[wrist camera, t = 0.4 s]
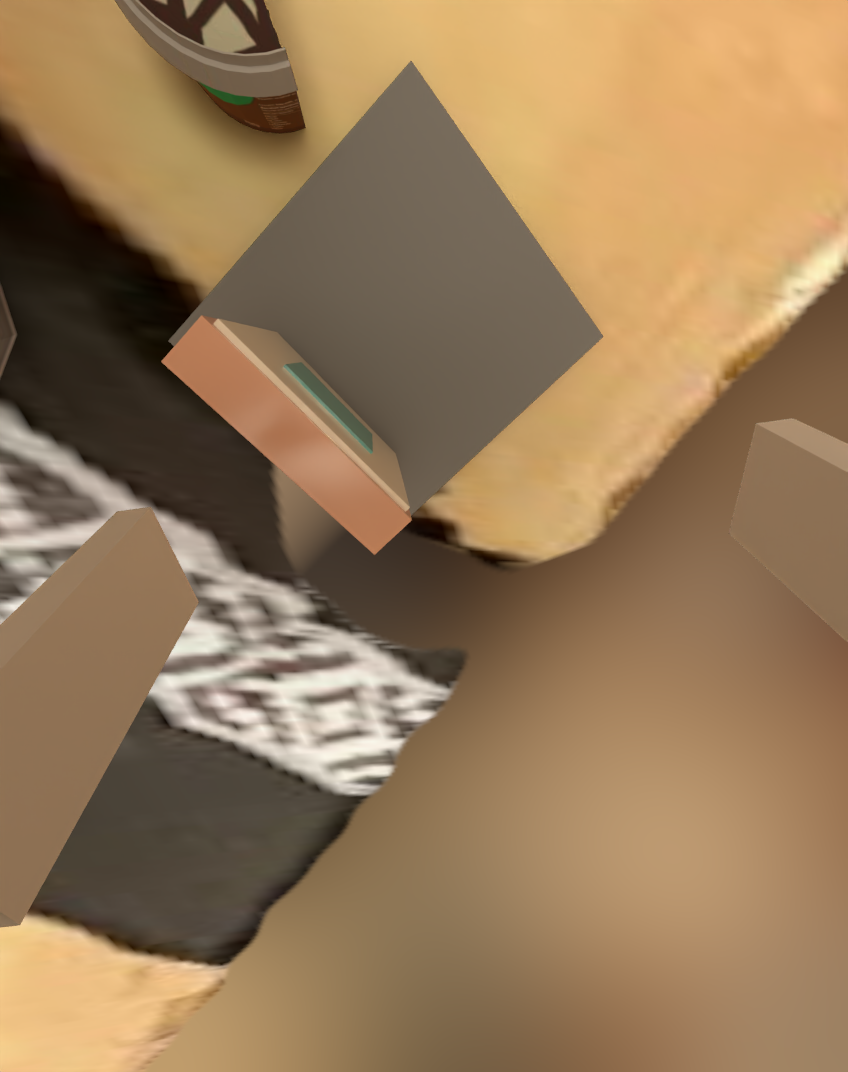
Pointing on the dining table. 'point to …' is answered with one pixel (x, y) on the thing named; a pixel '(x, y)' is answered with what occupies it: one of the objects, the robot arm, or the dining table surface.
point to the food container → (225, 55)
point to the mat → (411, 289)
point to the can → (5, 331)
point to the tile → (296, 424)
